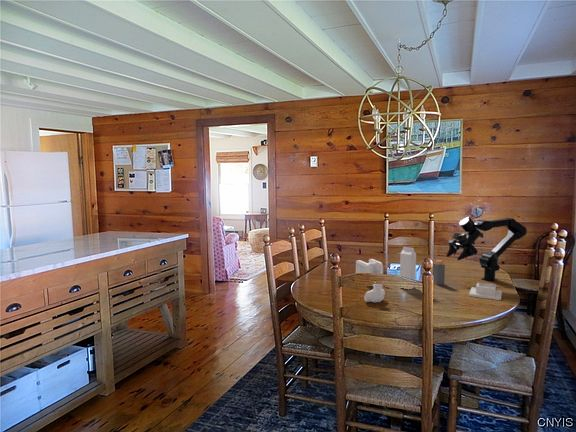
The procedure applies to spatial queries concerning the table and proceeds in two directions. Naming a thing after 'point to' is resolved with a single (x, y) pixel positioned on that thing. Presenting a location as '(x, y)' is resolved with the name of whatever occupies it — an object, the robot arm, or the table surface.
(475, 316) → the table surface
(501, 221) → the robot arm
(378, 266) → the cable organizer
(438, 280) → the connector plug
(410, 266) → the milk
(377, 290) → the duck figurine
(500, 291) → the end holder
